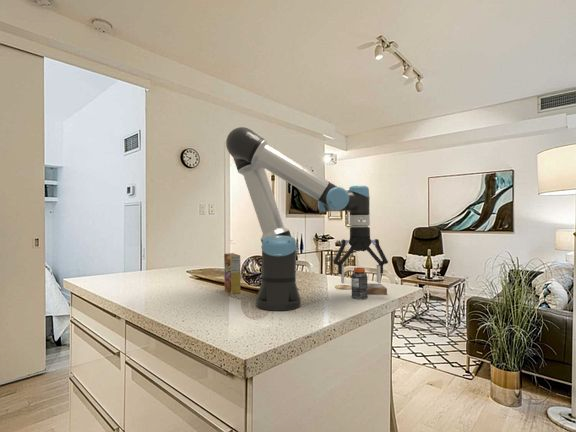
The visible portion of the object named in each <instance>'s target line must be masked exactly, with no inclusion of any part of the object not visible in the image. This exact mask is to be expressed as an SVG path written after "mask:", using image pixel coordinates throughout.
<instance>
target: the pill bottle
mask: <svg viewBox="0 0 576 432" xmlns="http://www.w3.org/2000/svg"><path fill="white" fill-rule="evenodd" d="M365 269H366V268H365V267H354V268H353V273H352V274H351V281H350V282H351V285H350V286H352V289H351V291H350V292H351V298H352V299H356V300H366V299H367V298H369V297H368V294H367V284H368V274H367V273H366V270H365Z"/></svg>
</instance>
